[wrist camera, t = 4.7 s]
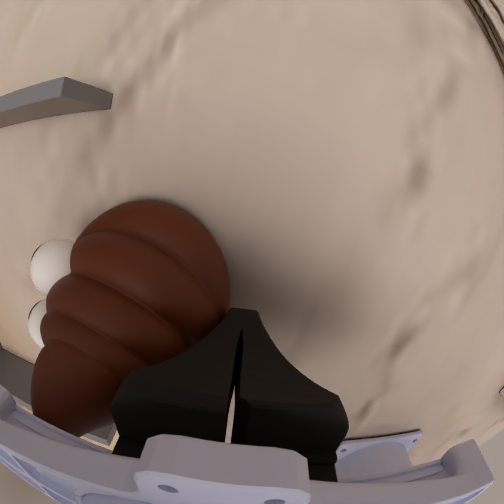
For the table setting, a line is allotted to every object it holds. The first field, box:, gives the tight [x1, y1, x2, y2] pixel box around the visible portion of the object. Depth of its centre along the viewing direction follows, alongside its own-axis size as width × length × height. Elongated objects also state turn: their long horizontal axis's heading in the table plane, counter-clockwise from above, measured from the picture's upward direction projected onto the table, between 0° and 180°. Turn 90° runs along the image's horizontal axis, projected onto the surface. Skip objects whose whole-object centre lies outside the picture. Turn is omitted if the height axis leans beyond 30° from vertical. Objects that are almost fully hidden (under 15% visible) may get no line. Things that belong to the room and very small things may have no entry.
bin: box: [0, 77, 117, 446], centre depth 12 cm, size 20×15×4 cm
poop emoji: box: [29, 200, 230, 437], centre depth 9 cm, size 10×8×9 cm
